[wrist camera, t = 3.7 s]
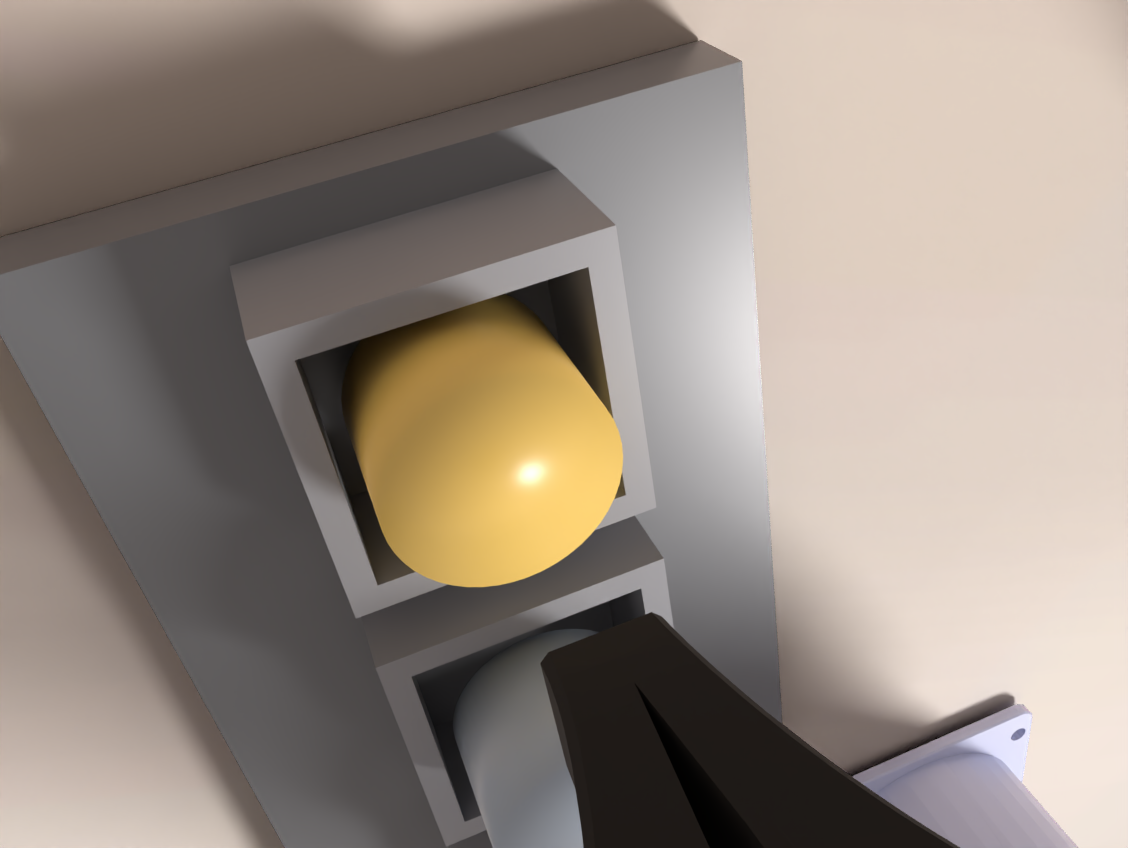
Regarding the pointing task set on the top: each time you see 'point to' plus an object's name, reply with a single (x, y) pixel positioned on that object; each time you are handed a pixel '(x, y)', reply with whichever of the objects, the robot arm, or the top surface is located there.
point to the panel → (323, 446)
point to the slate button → (518, 748)
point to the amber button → (479, 443)
